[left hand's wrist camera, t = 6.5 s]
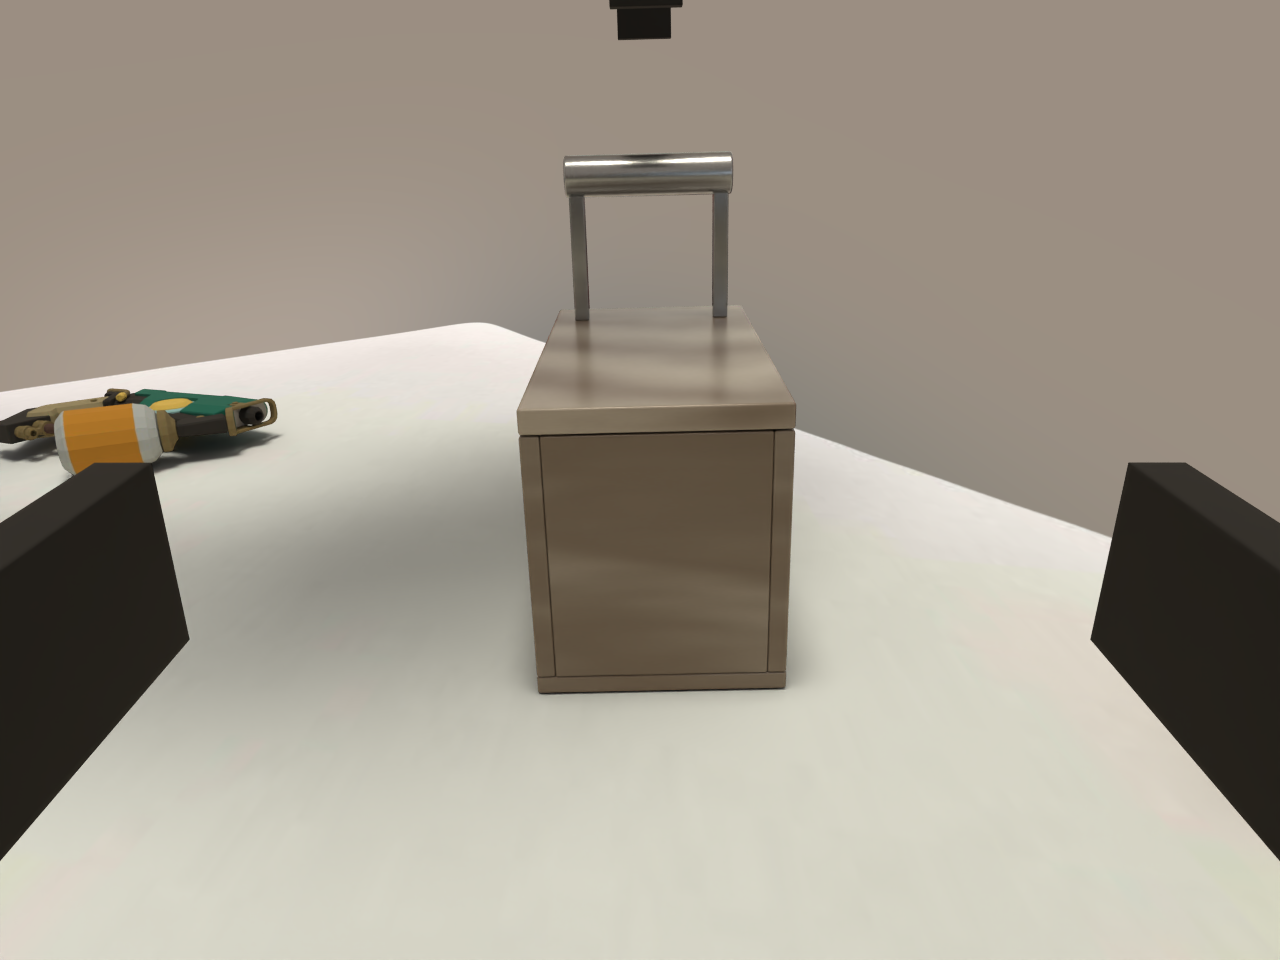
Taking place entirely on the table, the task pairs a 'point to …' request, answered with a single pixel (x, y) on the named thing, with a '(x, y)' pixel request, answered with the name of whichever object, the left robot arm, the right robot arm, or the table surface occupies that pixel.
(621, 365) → the lid
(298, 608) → the table surface
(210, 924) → the table surface
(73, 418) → the spray gun
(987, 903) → the table surface
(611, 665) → the chest
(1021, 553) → the table surface
